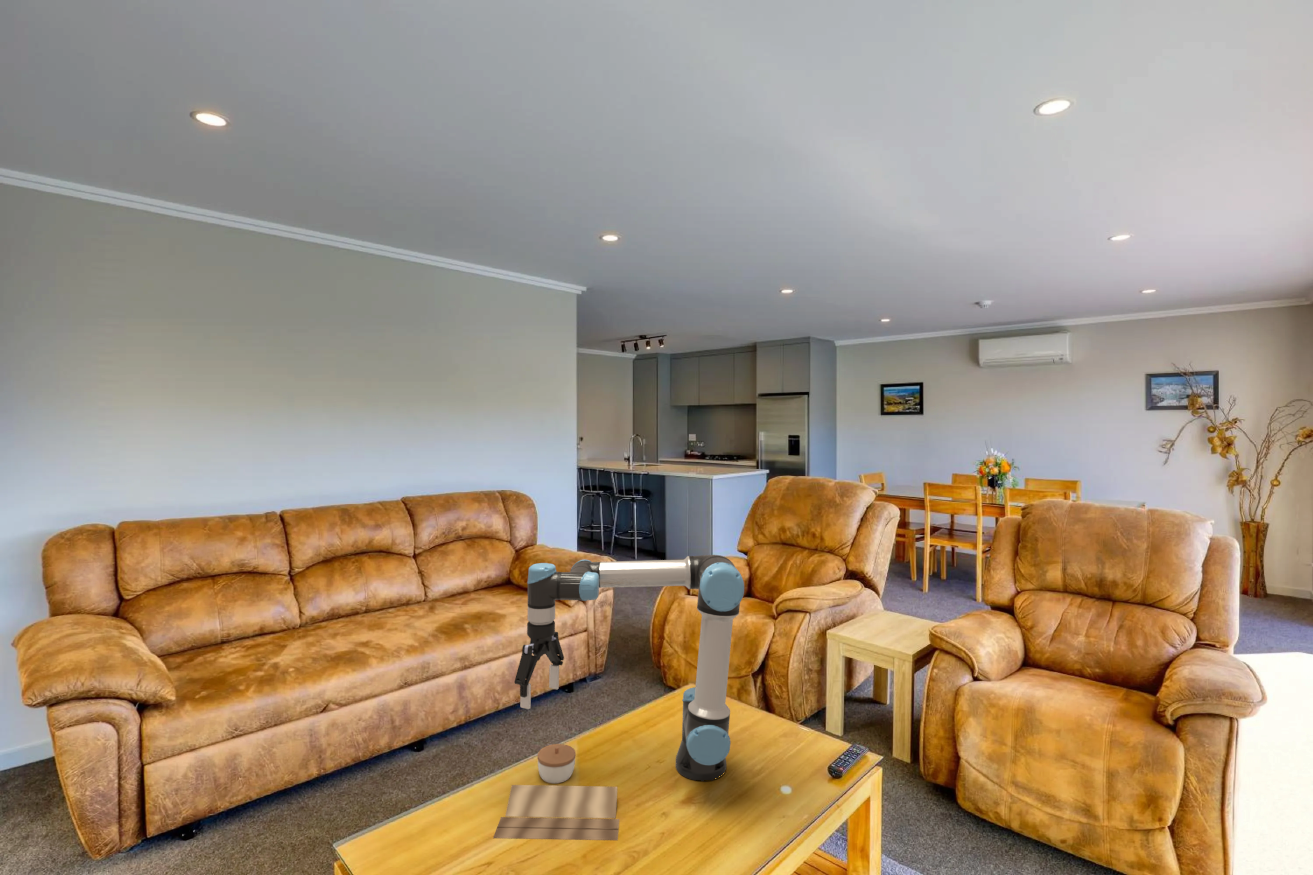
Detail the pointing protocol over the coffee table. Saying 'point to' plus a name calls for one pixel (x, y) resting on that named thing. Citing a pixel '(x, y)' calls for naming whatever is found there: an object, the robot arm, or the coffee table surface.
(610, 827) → the laid board
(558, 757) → the lidded jar
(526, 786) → the plank
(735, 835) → the coffee table surface
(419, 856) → the coffee table surface
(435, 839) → the coffee table surface
